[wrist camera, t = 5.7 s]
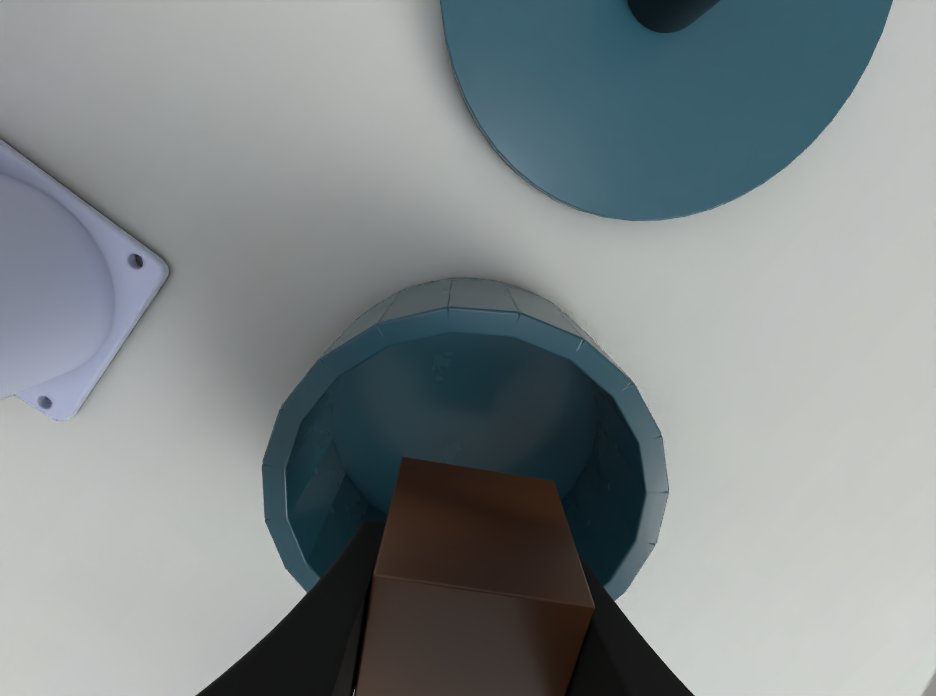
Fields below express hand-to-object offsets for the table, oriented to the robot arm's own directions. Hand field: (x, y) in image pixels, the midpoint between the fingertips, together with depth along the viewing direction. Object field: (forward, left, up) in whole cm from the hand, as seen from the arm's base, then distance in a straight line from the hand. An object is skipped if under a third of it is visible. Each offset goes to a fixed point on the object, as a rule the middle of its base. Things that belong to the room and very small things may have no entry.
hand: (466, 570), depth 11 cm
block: (0, 0, -1) cm, 1 cm away
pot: (0, 0, -8) cm, 8 cm away
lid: (-5, +15, -7) cm, 17 cm away
